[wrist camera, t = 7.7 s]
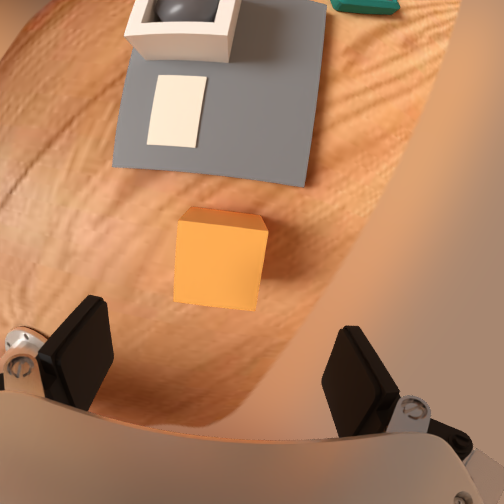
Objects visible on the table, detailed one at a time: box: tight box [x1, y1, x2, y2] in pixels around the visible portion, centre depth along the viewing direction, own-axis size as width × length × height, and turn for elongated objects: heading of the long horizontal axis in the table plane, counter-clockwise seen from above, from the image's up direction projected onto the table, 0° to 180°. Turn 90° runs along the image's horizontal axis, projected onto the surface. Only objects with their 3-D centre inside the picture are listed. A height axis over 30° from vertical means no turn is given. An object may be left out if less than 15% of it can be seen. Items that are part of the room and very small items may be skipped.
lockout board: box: [112, 0, 327, 188], centre depth 17 cm, size 18×16×7 cm
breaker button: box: [156, 0, 218, 23], centre depth 15 cm, size 4×4×4 cm
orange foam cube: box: [173, 207, 269, 311], centre depth 22 cm, size 6×6×6 cm
